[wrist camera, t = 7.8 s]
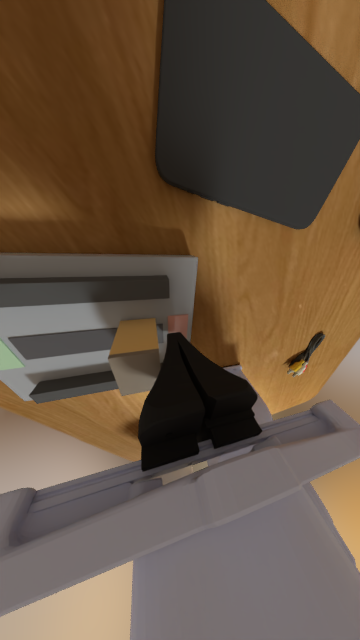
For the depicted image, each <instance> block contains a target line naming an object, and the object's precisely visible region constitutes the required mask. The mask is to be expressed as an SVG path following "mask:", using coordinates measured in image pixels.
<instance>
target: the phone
mask: <svg viewBox="0 0 360 640" xmlns="http://www.w3.org/2000/svg"><path fill="white" fill-rule="evenodd" d="M359 140H360V94H359V93H358V92H357V91H356V90H355V89H354V88H353V87H352V86H351V85H350V84H349V83H348V82H347V81H346V80H345V79H344V78H343V77H342V76H341V75H340V74H339V73H338V72H337V71H336V70H335V69H334V68H333V67H332V66H331V65H330V64H329V63H328V62H327V61H326V60H325V59H324V58H323V57H322V56H321V55H320V54H319V53H318V52H317V51H316V50H315V49H314V48H313V47H312V46H311V45H310V44H309V43H308V42H307V41H306V40H305V39H304V38H303V37H302V36H301V35H300V34H299V33H298V32H297V31H296V30H295V29H294V28H293V27H292V26H291V25H290V24H289V23H288V22H287V21H286V20H285V19H284V18H283V17H282V16H281V15H280V14H279V13H278V12H277V11H276V10H275V9H274V8H273V7H272V6H271V5H270V4H269V3H268V2H267V1H266V0H164V14H163V30H162V46H161V63H160V79H159V96H158V113H157V130H156V149H155V159H156V166H157V169H158V172H159V174H160V176H161V178H162V179H163V180H164V181H165V182H166V183H168V184H169V185H171V186H174V187H177V188H179V189H182V190H185V191H187V192H190V193H192V194H197V195H199V196H200V197H202V198H205V199H208V200H211V201H217V203H219V204H222V205H225V206H231V207H234V208H237V209H239V210H242V211H245V212H248V213H251V214H254V215H257V216H260V217H262V218H265V219H268V220H271V221H274V222H277V223H280V224H282V225H285V226H288V227H291V228H294V229H304V228H307V227H308V226H309V225H310V224H311V223H312V222H313V221H314V219H315V218H316V216H317V215H318V213H319V211H320V209H321V208H322V206H323V204H324V202H325V200H326V199H327V197H328V195H329V193H330V192H331V190H332V188H333V186H334V184H335V183H336V181H337V179H338V177H339V175H340V174H341V172H342V170H343V168H344V167H345V165H346V163H347V161H348V159H349V158H350V156H351V154H352V152H353V150H354V149H355V147H356V145H357V143H358V141H359Z"/></svg>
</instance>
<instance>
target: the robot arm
mask: <svg viewBox="0 0 360 640" xmlns="http://www.w3.org/2000/svg"><path fill="white" fill-rule="evenodd" d="M241 369H242V366H241V365H236V366H231V367H225V368H221V367H220V366H218V365H217V364H215V363H213V362H212V361H210V360H209V359H208V358H206V357H205V356H204V355H203V354H201V353H200V352H199V351H198V350H197V349H196V348H195V347H194V346H193V345H192V344H191V343H190V342H189V341H188V340H187V339H186V338H185V337H184V336H183V334H182V333H181V332H176V333H168V334H167V348H166V353H165V357H164V360H163V363H162V366H161V369H160V372H159V374H158V376H157V379H156V381H155V383H154V385H153V387H152V389H151V391H150V392H149V394H148V396H147V398H146V400H145V402H144V405H143V408H142V412H141V415H140V420H139V431H138V438H139V441H140V444H141V446H142V452H141V460H139V461H135V462H132V463H129V464H125V465H122V466H119V467H115V468H112V469H108V470H105V471H102V472H98V473H95V474H92V475H88V476H85V477H82V478H78V479H75V480H72V481H68V482H65V483H62V484H58V485H55V486H51V487H48V488H44V489H41V490H38V491H36V490H35V489H33V488H21V489H17V490H14V491H10V492H7V493H4V494H0V617H1V616H3V615H5V614H8V613H10V612H12V611H15V610H17V609H19V608H22V607H24V606H26V605H29V604H31V603H34V602H36V601H38V600H40V599H43V598H45V597H48V596H50V595H52V594H54V593H57V592H59V591H62V590H64V589H66V588H69V587H71V586H73V585H76V584H78V583H80V582H83V581H85V580H87V579H90V578H92V577H94V576H97V575H99V574H101V573H104V572H106V571H109V570H111V569H113V568H115V567H118V566H120V565H123V564H125V563H127V562H129V561H132V560H133V581H132V583H133V584H132V605H131V629H130V631H131V632H130V640H360V573H359V571H358V569H357V568H356V563H355V559H354V557H353V556H352V554H351V552H350V551H349V549H348V547H347V546H346V544H345V543H344V541H343V539H342V538H341V536H340V534H339V533H338V531H337V530H336V528H335V526H334V524H333V521H332V518H331V517H330V515H329V513H328V511H327V509H326V508H325V506H324V504H323V503H322V501H321V499H320V498H319V496H318V494H317V493H316V491H315V490H314V488H313V487H312V485H311V484H310V481H312V480H314V479H317V478H318V477H321V476H323V475H325V474H327V473H329V472H331V471H333V470H335V469H337V468H339V467H341V466H344V465H346V464H348V463H350V462H352V461H354V460H356V459H358V458H360V425H359V424H358V423H357V422H356V421H355V420H354V419H353V418H351V417H350V416H349V415H348V414H347V413H345V412H344V411H343V410H342V409H341V408H340V407H339V406H337V405H336V404H335V403H334V402H333V401H332V400H327V401H323V402H320V403H317V404H315V405H314V406H312V408H310V410H307V411H304V412H301V413H297V414H294V415H291V416H287V417H284V418H280V419H277V420H274V421H273V419H272V416H271V414H270V411H269V409H268V407H267V406H266V404H265V403H264V401H263V400H262V398H261V397H260V396H259V394H258V393H257V392H256V390H255V389H254V387H253V386H252V385H251V383H250V382H249V381H248V379H247V378H246V377H245V375H244V374H243V372H242V371H241ZM206 460H207V463H208V467H206V468H204V469H201V470H199V471H196V472H194V473H191V474H189V475H187V476H184V477H182V478H180V479H177V480H175V481H172V482H170V483H168V484H165V485H163V483H162V478H155V477H158V476H161V475H164V474H167V473H170V472H173V471H176V470H179V469H182V468H185V467H188V466H191V465H194V464H197V463H200V462H203V461H206ZM152 478H155V479H152Z"/></svg>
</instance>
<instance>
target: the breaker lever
mask: <svg viewBox="0 0 360 640" xmlns="http://www.w3.org/2000/svg"><path fill="white" fill-rule="evenodd" d="M108 361H109V364H110V366H111V369H112V372H113V374H114V377H115V380H116V382H117V385H118V387H119V390H120V393H121V395H122V396H124V395H129V394H135V393H140V392H145V391H150V390H151V389H152V387H153V385H154V383H155V381H156V379H157V376H158V374H159V372H160V356H159V346H158V337H157V328H156V319H155V318H149V319H137V320H125V321H120V323H119V326H118V329H117V332H116V335H115V338H114V341H113V344H112V347H111V350H110V353H109V356H108Z"/></svg>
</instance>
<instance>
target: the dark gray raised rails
mask: <svg viewBox="0 0 360 640" xmlns="http://www.w3.org/2000/svg"><path fill="white" fill-rule="evenodd" d="M168 298H170V294H169V278H168V277H167V275H155V276H101V277H46V278H0V308H4V307H22V306H41V305H59V304H77V303H95V302H113V301H131V300H150V299H168ZM161 366H162V363H160V369H161ZM114 389H119V387H118V385H117V382H116V380H115V377H114V374H113V372H112V370H111V371H104V372H98V373H92V374H85V375H79V376H72V377H66V378H59V379H53V380H46V381H40V382H39V383H38V384H37V385H36V387H35V388H34V389H33V391H32V392H31V393H30V394H29V397H30V398H32V399H33V400H34V401H35V402H36V403H37V404H38V403H43V402H49V401H54V400H60V399H65V398H71V397H76V396H81V395H87V394H92V393H98V392H103V391H109V390H114Z"/></svg>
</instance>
